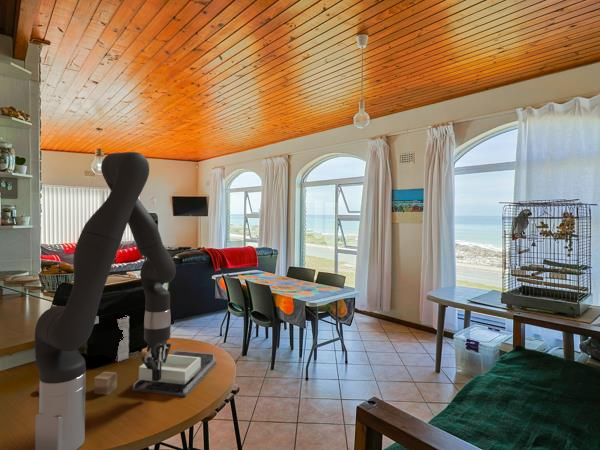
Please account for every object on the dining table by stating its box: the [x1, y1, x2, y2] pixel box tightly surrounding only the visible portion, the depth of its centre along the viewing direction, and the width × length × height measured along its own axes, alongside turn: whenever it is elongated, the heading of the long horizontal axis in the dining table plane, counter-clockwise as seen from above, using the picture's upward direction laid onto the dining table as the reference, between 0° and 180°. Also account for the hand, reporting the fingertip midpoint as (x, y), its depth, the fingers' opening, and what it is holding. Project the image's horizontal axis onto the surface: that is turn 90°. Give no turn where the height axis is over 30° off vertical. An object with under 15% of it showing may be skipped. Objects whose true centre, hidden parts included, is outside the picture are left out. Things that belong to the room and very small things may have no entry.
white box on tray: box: [138, 353, 201, 386], centre depth 121 cm, size 12×16×6 cm
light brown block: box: [93, 371, 118, 396], centre depth 115 cm, size 4×4×5 cm
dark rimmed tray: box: [131, 349, 217, 397], centre depth 126 cm, size 25×18×4 cm
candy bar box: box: [114, 315, 130, 363], centre depth 140 cm, size 11×5×16 cm, turn 58°
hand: (156, 379), depth 112 cm, fingers closed
